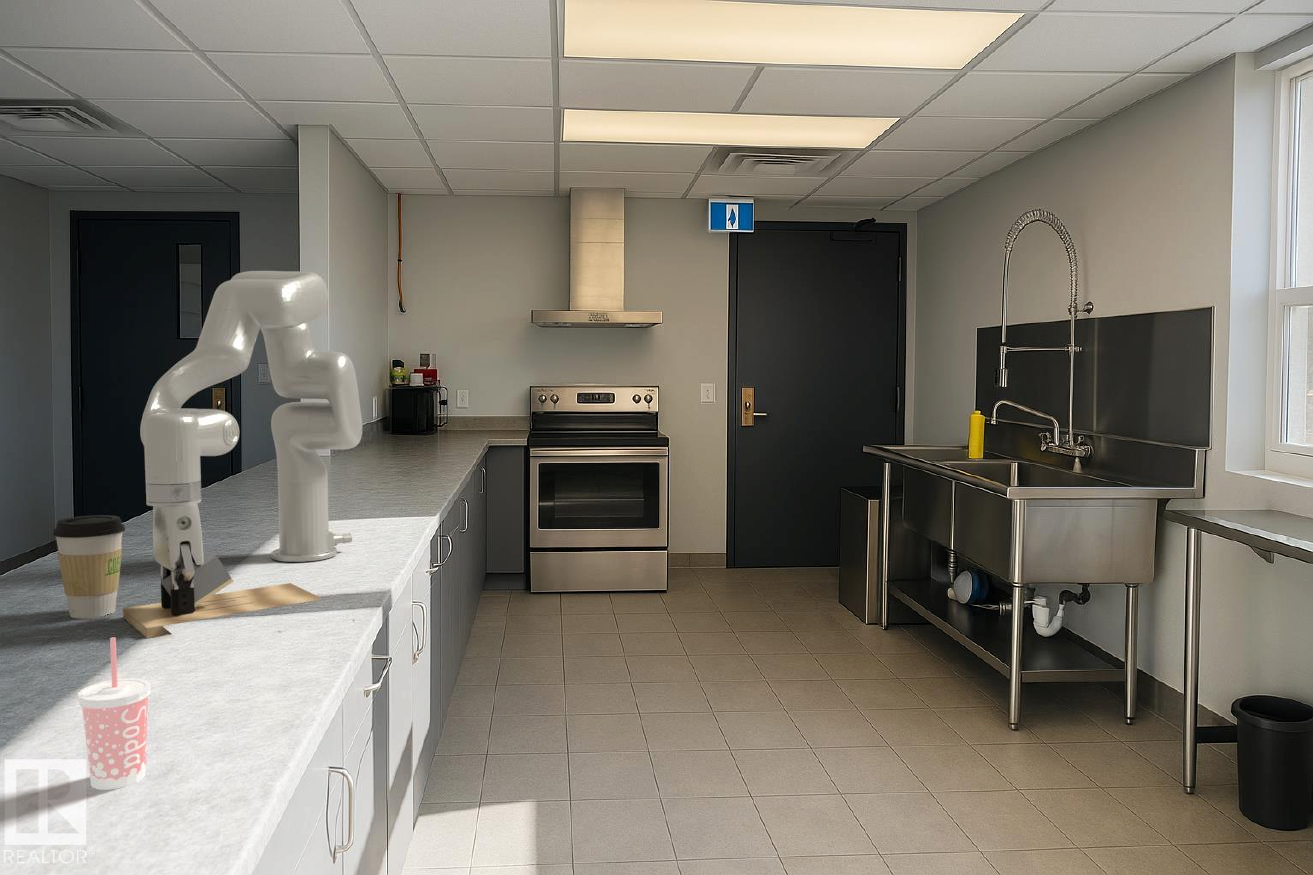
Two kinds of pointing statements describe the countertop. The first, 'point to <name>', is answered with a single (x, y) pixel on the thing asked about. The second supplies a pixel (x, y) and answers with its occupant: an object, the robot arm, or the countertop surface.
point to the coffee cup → (90, 563)
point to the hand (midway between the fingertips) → (178, 609)
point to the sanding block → (205, 579)
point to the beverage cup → (115, 728)
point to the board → (216, 607)
